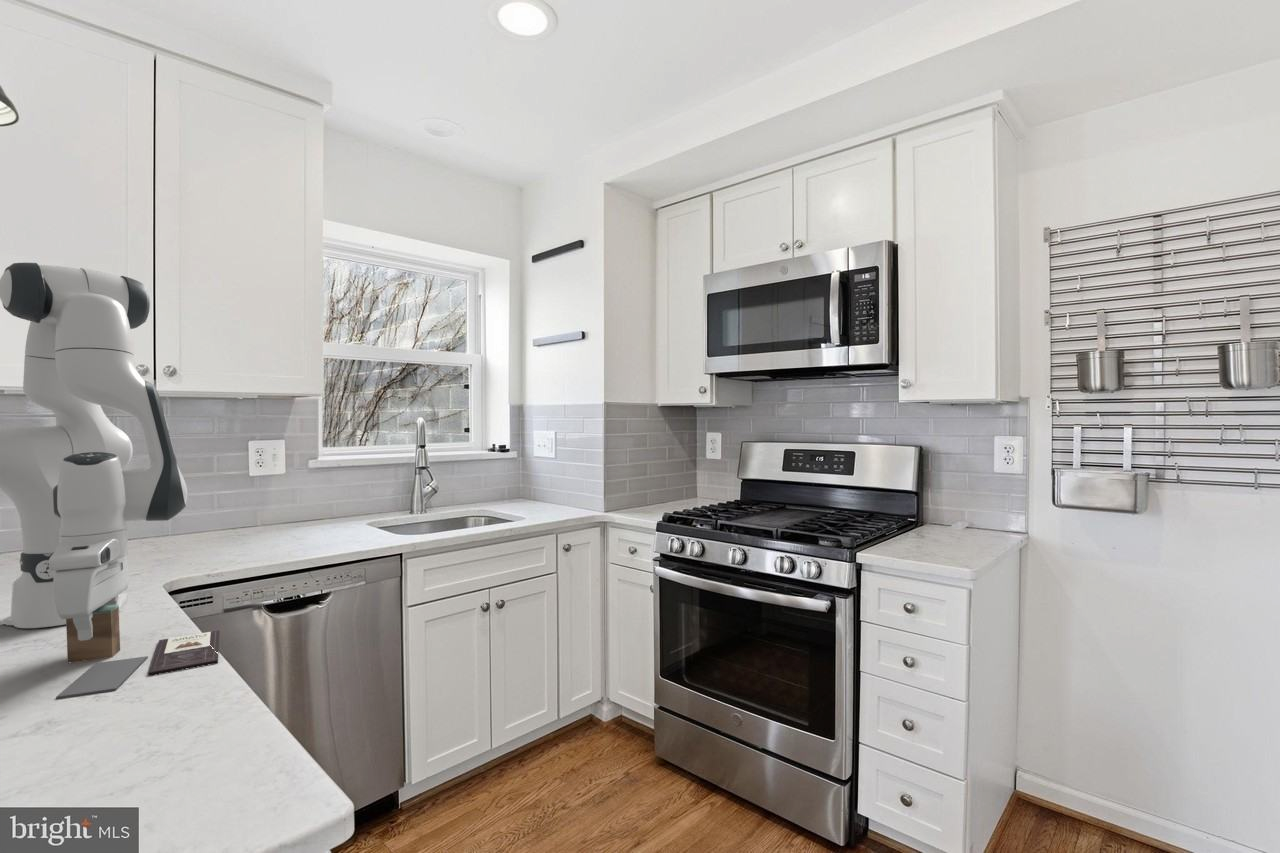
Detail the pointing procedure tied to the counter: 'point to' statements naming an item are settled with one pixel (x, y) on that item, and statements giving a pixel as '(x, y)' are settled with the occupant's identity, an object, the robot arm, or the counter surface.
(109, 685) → the rubber mat
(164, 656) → the chocolate bar
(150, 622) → the counter surface
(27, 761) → the counter surface
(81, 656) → the teal brown rectangular block
